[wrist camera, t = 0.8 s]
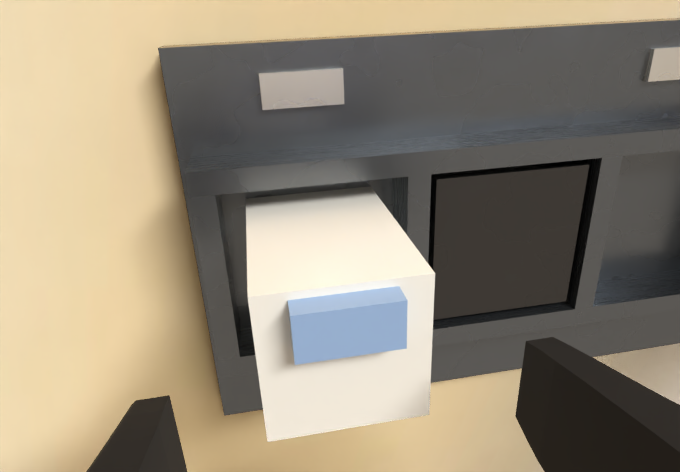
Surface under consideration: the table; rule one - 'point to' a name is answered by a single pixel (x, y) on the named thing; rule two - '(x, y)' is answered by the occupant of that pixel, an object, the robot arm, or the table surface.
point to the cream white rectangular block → (337, 312)
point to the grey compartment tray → (452, 176)
